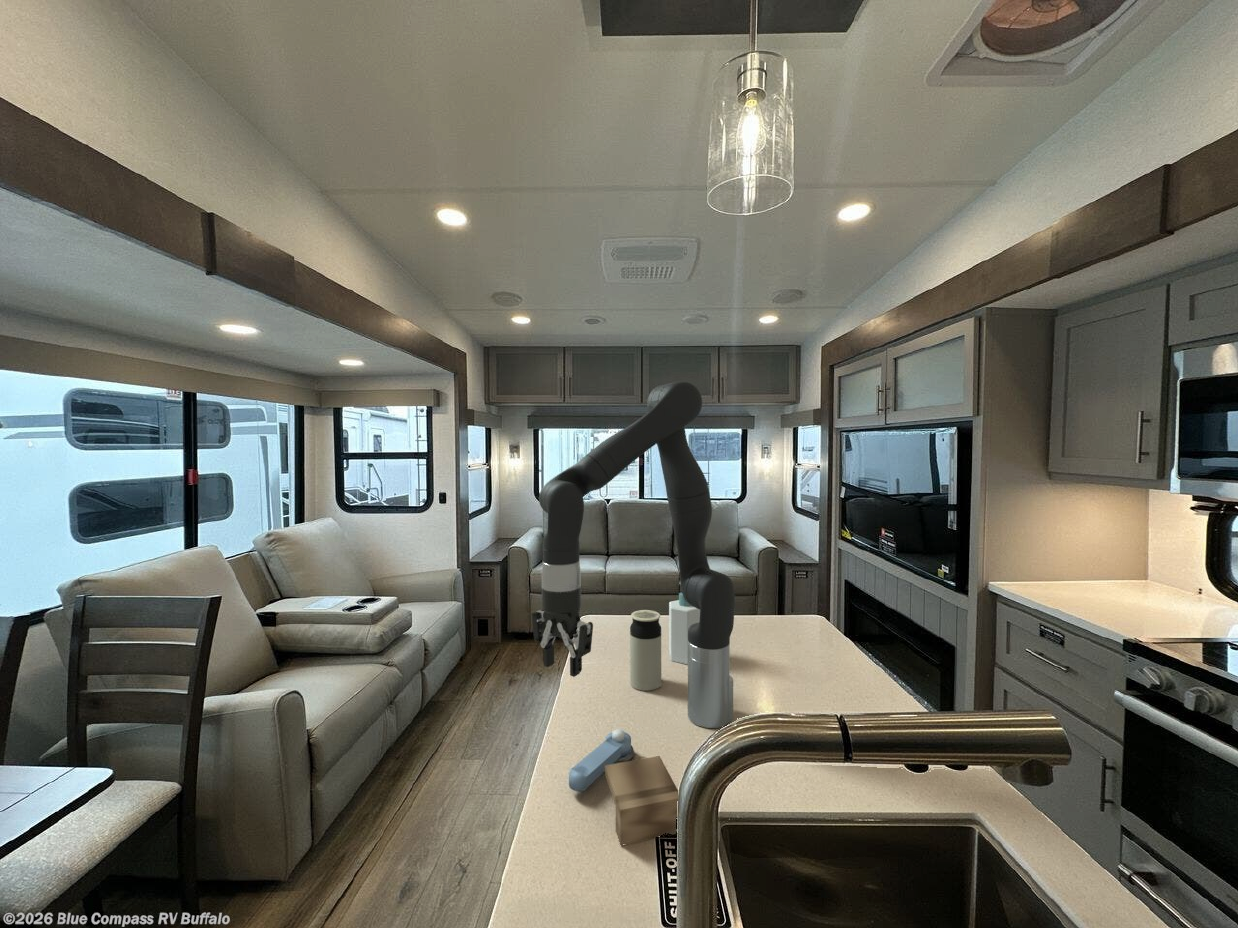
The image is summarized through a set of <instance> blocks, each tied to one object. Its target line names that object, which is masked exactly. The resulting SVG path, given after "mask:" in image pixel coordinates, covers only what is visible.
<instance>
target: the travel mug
mask: <svg viewBox="0 0 1238 928" xmlns="http://www.w3.org/2000/svg"><path fill="white" fill-rule="evenodd" d="M630 617H631V619H632V623H631V625H630V627H629V635H630V636H629V638H630V640H629V645H630V646H629V652H630V653H629V657H630V659H629V661H630V662H629V663H630V664H629V670H630V671H629V673H630V674H629V678H630V680H629V681H630V682H629V683H630V686H632V687H633V688H634V689H637V690H639V691H643V692H644V691H645V692H647V691H648V692H649V691H653V690H656V689H658V688H660V687H661V686H662V626H661V624H660V618H661V614H660V613H659V612H658V611H656V610H649V609H640V610H635V611H633V612H631V615H630Z"/></svg>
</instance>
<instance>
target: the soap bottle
mask: <svg viewBox="0 0 1238 928" xmlns="http://www.w3.org/2000/svg"><path fill="white" fill-rule="evenodd" d="M678 584H679V585H680V581H679V583H678ZM699 621H700V610H699V609H697V608H695V607H693V606H691V605H690V604H689V603H688V602H687V601H686V600H685V599H684V597H683V594H682V592H679V593H678V599H677V600H673V601H669V603H668V625H669V626H668V633H669V635H668V643H669V644H668V645H669V646H668V647H669V649H668V653H669V659H670V661H672V662H675V663H679V664H684V665H687V666H688V629H689V627H690V626H691V625H693V624H695V623H699Z"/></svg>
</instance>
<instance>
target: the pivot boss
mask: <svg viewBox="0 0 1238 928" xmlns="http://www.w3.org/2000/svg"><path fill="white" fill-rule="evenodd" d="M634 757H635V751H634V747H633V745H632V744H631V751H630V753H629V754H627V755H626V756H622V757H620V758H619V759H618V760H616V761H615V762H614V763H613V764H616V763H621V762H627V761H633V760H634Z"/></svg>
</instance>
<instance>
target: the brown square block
mask: <svg viewBox="0 0 1238 928" xmlns="http://www.w3.org/2000/svg"><path fill="white" fill-rule="evenodd" d="M665 765H666V764H665V763H664V761H663V760H662V757H661V756H660V755H657V756H651V757H645V758H644V757H643V758H639V759H633V760H632V761H627V762H621V763H616V764H610V765H605V772H604V776H605V778H606V782H607V785H608V787H609V790H610V794H611V797H612V798H613V802H614V805H615V806H614V807H615V833H616V835H617V836H618V837H617V839H619V840H618V842H620V843H619V846H620V845H623V844H627V845H630V844H629V843H632V844H636V843H639V842H645V841H650V840H654V839H657V838H656V837H658V836H661V835H663V834H665V833H666V834H667V833H669V834H672V835H677V834H676V817H677V801H678V791H679V790H678V788H677V786H676V784H675V782H674V780H673V778H672V776H671V775H670V773H669V771H668V769H667V767H666V766H665ZM623 846H624V845H623Z"/></svg>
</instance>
